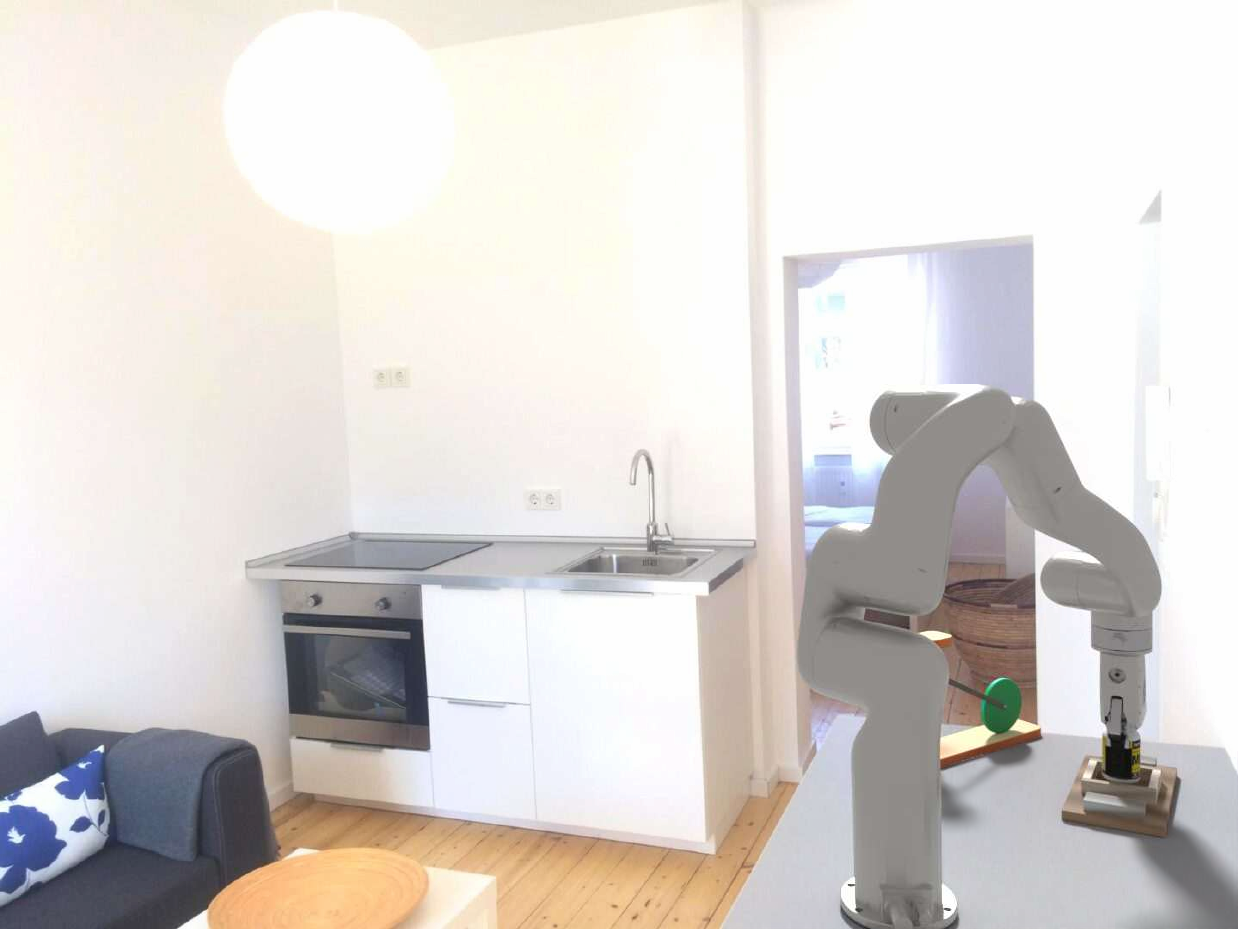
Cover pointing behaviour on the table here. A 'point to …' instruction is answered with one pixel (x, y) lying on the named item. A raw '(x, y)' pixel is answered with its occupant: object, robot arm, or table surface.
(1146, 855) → the table surface
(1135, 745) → the supplement bottle
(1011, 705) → the crank mechanism
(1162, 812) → the jig board
